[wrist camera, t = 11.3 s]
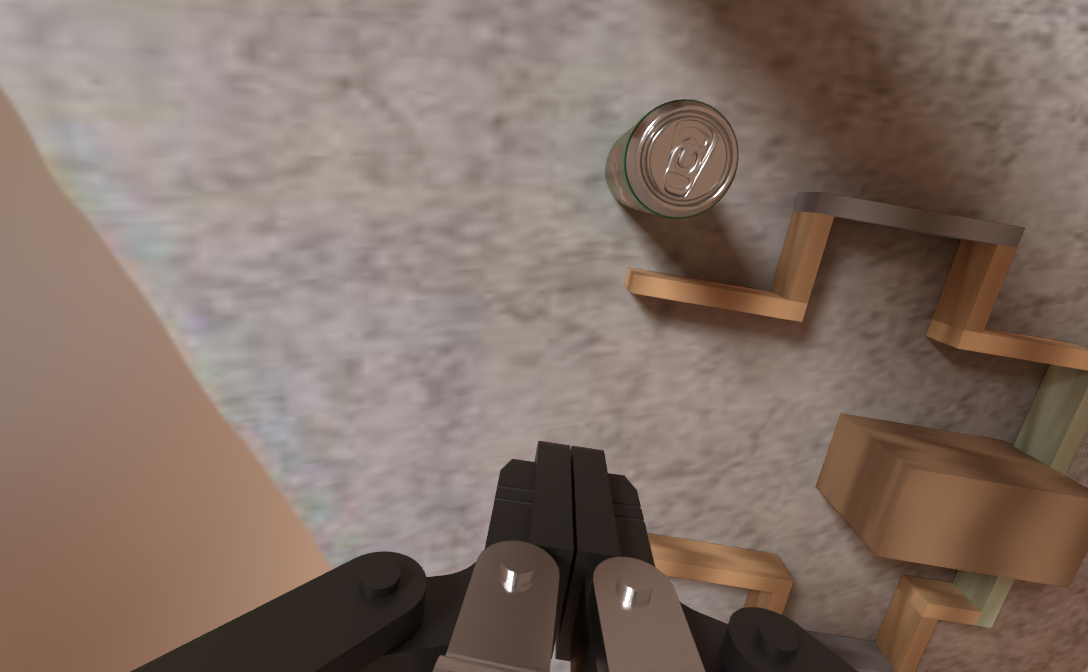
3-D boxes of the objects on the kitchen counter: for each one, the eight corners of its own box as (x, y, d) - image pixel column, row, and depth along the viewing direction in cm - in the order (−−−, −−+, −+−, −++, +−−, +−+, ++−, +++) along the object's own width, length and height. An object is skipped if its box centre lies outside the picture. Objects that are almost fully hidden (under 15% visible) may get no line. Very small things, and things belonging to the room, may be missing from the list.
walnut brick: (815, 485, 40) (876, 556, 32) (840, 412, 38) (910, 468, 30) (970, 511, 40) (1068, 587, 32) (1001, 439, 38) (1113, 502, 31)
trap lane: (557, 603, 43) (557, 632, 40) (649, 166, 34) (657, 163, 31) (931, 663, 44) (957, 696, 41) (1120, 247, 34) (1171, 253, 32)
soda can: (695, 142, 34) (766, 116, 22) (667, 220, 35) (720, 234, 23) (619, 117, 33) (650, 78, 22) (594, 197, 35) (611, 200, 23)
